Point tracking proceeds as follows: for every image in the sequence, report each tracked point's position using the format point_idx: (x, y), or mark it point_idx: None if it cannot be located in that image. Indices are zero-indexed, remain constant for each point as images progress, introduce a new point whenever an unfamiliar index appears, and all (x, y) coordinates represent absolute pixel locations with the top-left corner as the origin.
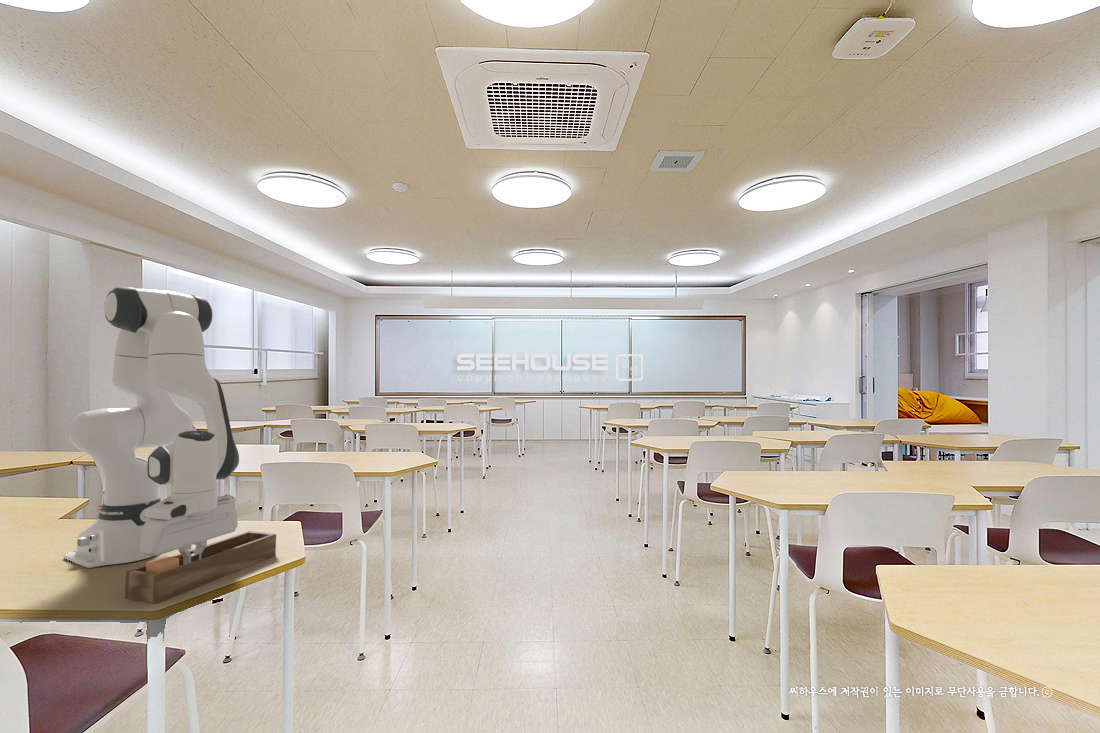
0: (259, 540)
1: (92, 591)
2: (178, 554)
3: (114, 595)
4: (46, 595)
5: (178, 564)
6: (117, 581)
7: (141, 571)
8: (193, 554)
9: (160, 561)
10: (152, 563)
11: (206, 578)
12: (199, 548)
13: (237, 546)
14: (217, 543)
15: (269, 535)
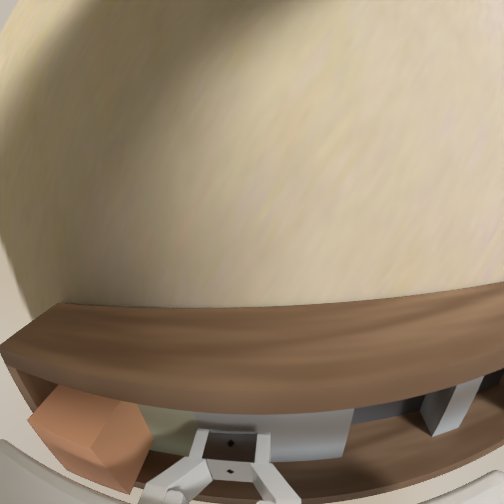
0: (481, 455)
1: (44, 116)
2: (210, 394)
3: (51, 233)
4: (17, 50)
5: (136, 473)
6: (120, 69)
7: (33, 400)
8: (237, 471)
9: (68, 460)
10: (46, 444)
11: None
12: (266, 498)
13: (410, 479)
14: (474, 376)
15: None
